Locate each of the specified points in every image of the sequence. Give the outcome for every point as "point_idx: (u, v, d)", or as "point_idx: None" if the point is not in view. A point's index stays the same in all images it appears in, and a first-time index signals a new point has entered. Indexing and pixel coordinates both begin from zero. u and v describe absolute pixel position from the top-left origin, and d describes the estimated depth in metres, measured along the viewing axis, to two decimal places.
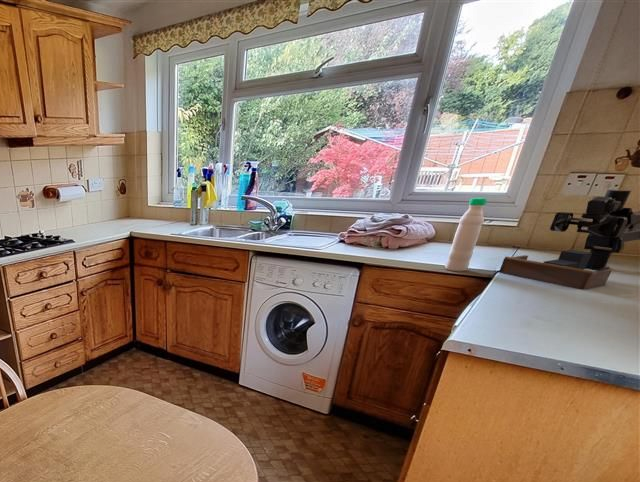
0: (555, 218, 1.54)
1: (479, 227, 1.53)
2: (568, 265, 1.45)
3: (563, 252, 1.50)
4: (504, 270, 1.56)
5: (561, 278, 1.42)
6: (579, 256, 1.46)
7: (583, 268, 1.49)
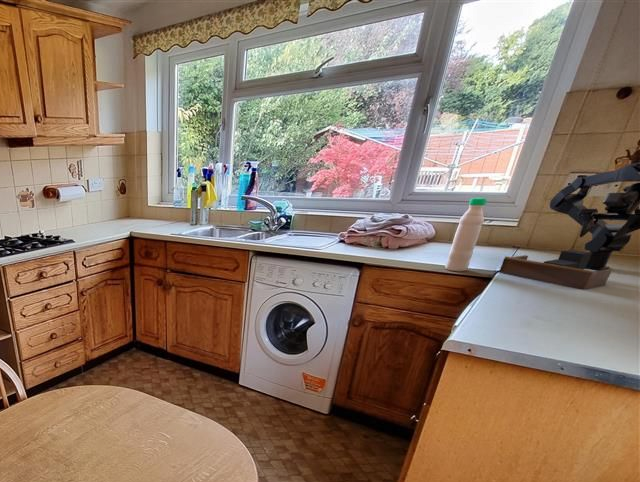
0: (580, 217, 1.54)
1: (479, 227, 1.53)
2: (568, 265, 1.45)
3: (563, 252, 1.50)
4: (504, 270, 1.56)
5: (561, 278, 1.42)
6: (579, 256, 1.46)
7: (583, 268, 1.49)
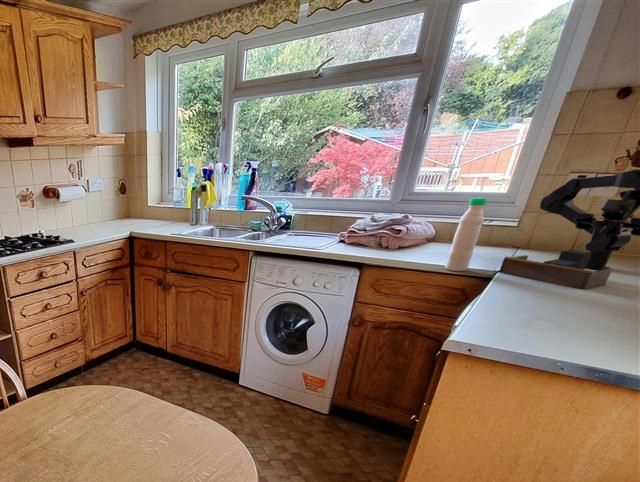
0: (576, 221, 1.55)
1: (479, 227, 1.53)
2: (568, 265, 1.45)
3: (563, 252, 1.50)
4: (504, 270, 1.56)
5: (561, 278, 1.42)
6: (579, 256, 1.46)
7: (583, 268, 1.49)
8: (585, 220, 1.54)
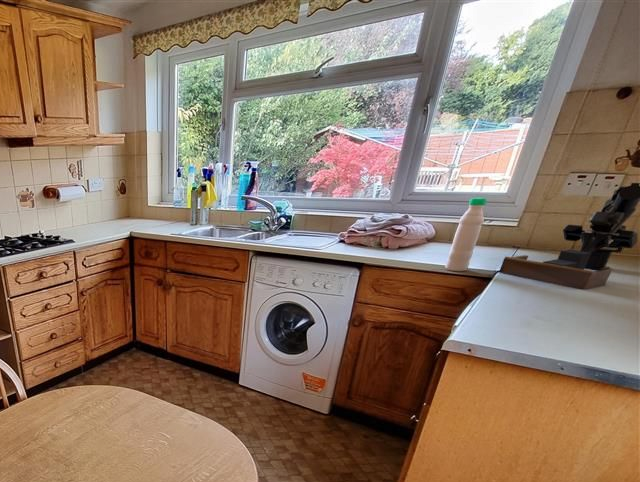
0: (564, 232, 1.56)
1: (479, 227, 1.53)
2: (567, 265, 1.45)
3: (562, 252, 1.50)
4: (504, 270, 1.56)
5: (561, 278, 1.42)
6: (578, 256, 1.46)
7: (582, 268, 1.49)
8: (574, 232, 1.54)
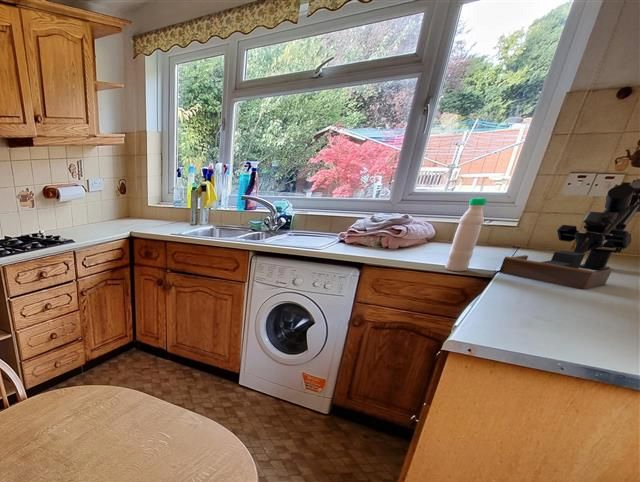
0: (559, 232, 1.55)
1: (479, 227, 1.53)
2: None
3: (556, 253, 1.49)
4: (504, 270, 1.56)
5: (561, 278, 1.42)
6: (571, 257, 1.45)
7: None
8: (568, 232, 1.53)
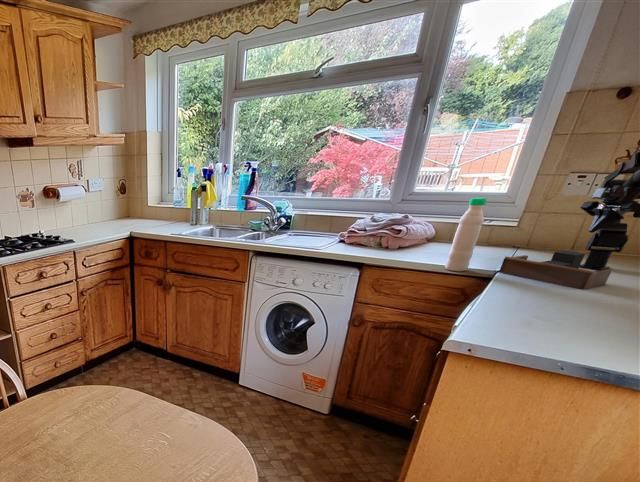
0: (584, 210, 1.54)
1: (479, 227, 1.53)
2: None
3: (556, 253, 1.49)
4: (504, 270, 1.56)
5: (561, 278, 1.42)
6: (571, 257, 1.45)
7: None
8: (593, 208, 1.52)
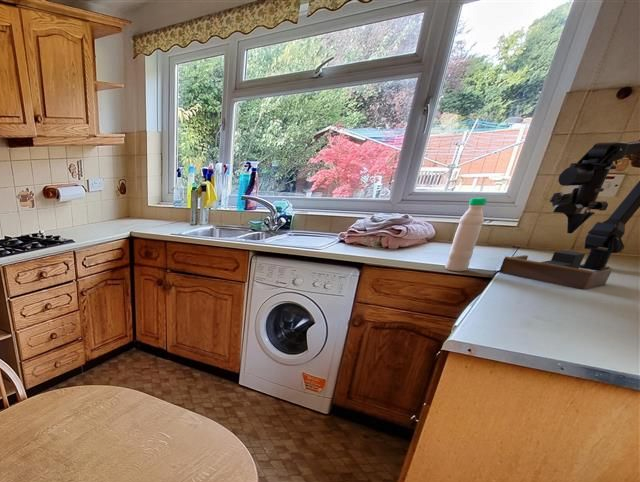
0: None
1: (479, 227, 1.53)
2: None
3: (556, 253, 1.49)
4: (504, 270, 1.56)
5: (561, 278, 1.42)
6: (571, 257, 1.45)
7: None
8: None
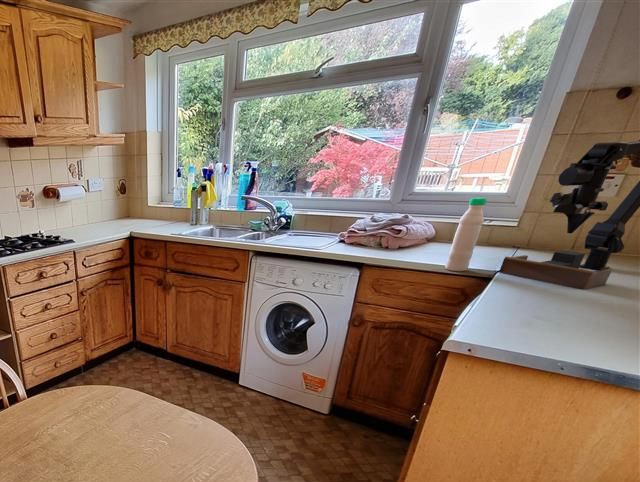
0: None
1: (479, 227, 1.53)
2: None
3: (556, 253, 1.49)
4: (504, 270, 1.56)
5: (561, 278, 1.42)
6: (571, 257, 1.45)
7: None
8: None
